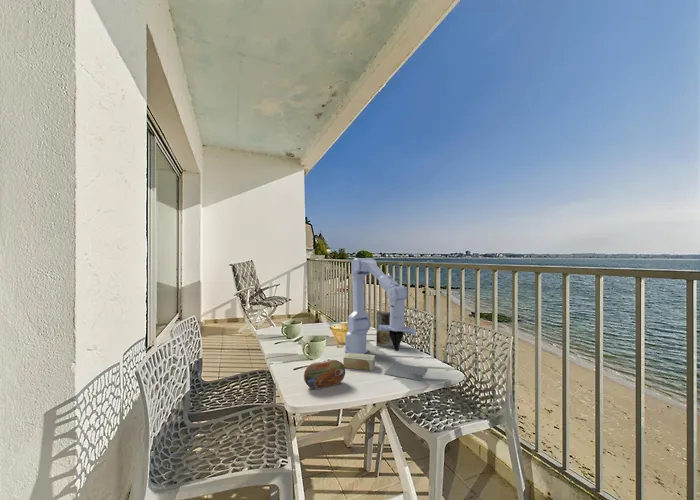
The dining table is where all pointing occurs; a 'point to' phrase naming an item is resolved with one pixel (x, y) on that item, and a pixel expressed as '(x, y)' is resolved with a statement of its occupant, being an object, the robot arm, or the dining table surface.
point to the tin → (324, 374)
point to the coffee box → (383, 336)
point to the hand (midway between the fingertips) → (396, 350)
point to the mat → (406, 371)
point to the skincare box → (359, 361)
